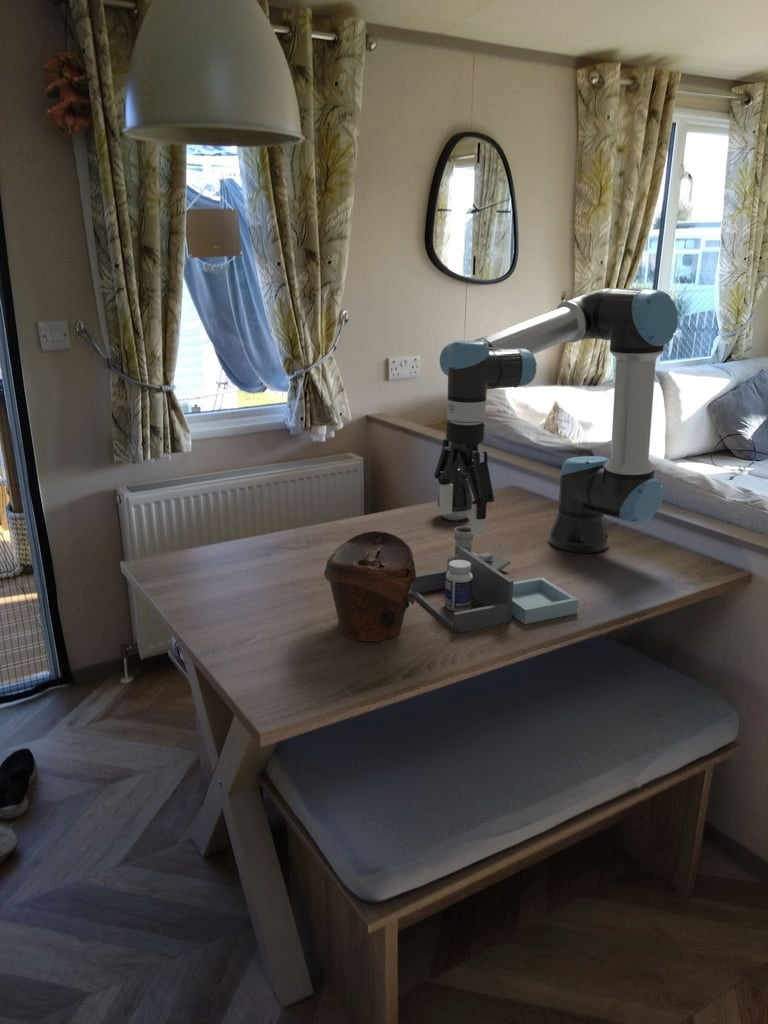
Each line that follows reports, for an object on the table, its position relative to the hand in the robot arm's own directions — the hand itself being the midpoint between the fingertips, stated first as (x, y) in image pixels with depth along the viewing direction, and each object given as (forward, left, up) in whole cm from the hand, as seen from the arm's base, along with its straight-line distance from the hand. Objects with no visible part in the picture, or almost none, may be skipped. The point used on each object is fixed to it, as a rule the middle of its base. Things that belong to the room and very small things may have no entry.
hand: (460, 523), depth 154 cm
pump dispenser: (-53, +28, -19) cm, 63 cm away
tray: (+6, +15, -19) cm, 25 cm away
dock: (0, 0, -19) cm, 19 cm away
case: (+2, -21, -19) cm, 28 cm away
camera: (-15, +13, -19) cm, 28 cm away
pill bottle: (0, 0, -19) cm, 19 cm away
